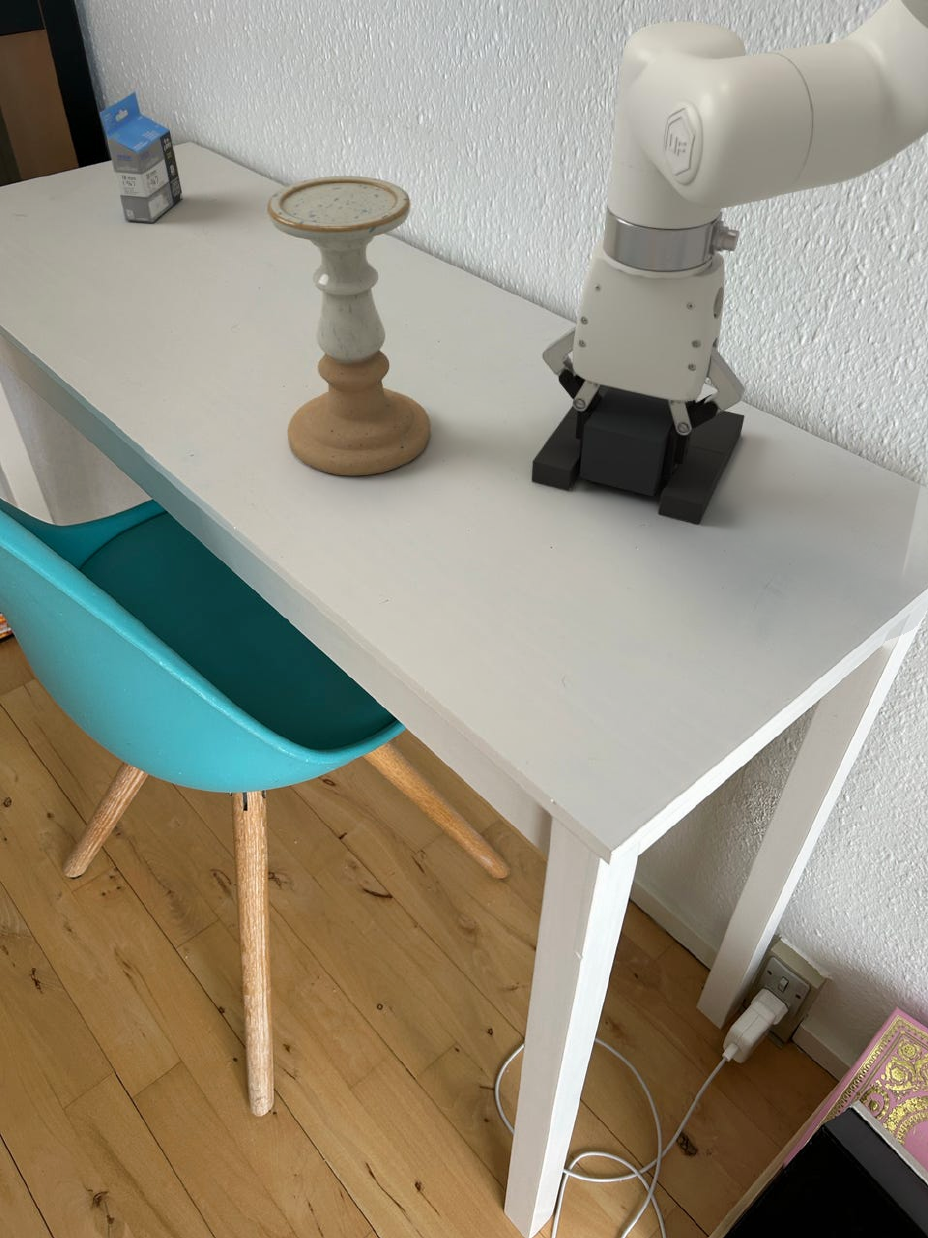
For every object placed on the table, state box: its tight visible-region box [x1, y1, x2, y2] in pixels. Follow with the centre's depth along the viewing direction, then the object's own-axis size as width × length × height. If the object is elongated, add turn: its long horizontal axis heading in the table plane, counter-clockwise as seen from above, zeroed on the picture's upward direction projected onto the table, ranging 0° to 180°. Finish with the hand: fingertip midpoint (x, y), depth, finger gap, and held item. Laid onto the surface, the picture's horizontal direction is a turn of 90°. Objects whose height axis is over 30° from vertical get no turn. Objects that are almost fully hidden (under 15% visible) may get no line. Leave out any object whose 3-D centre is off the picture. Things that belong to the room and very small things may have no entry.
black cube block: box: [579, 387, 674, 497], centre depth 78 cm, size 6×6×5 cm
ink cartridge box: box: [99, 91, 184, 224], centre depth 119 cm, size 9×4×12 cm, turn 167°
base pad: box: [531, 385, 745, 525], centre depth 82 cm, size 14×14×2 cm
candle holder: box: [266, 175, 431, 476], centre depth 78 cm, size 12×12×20 cm
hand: (629, 455), depth 79 cm, fingers closed on black cube block, 6 cm apart
